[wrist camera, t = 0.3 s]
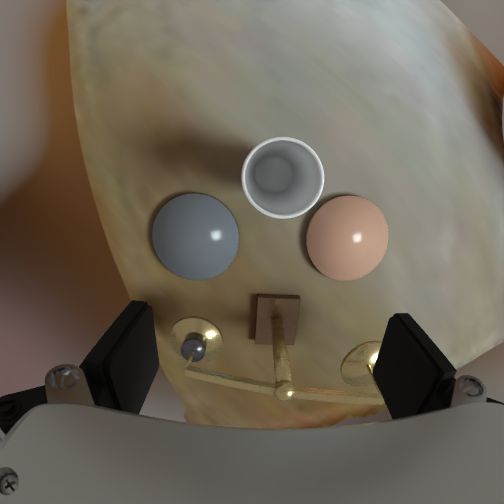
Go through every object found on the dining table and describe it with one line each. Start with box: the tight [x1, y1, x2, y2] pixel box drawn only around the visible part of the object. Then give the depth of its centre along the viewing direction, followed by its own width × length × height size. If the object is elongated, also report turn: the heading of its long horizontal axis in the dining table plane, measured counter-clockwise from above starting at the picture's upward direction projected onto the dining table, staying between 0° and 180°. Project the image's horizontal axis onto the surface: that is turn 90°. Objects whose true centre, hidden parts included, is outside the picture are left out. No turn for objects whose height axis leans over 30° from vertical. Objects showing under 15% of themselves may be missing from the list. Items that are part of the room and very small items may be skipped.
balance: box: [170, 294, 384, 405], centre depth 34 cm, size 8×29×18 cm, turn 87°
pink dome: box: [306, 195, 388, 281], centre depth 38 cm, size 12×12×1 cm
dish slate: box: [152, 193, 239, 280], centre depth 38 cm, size 12×12×1 cm
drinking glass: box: [241, 137, 324, 219], centre depth 29 cm, size 7×7×15 cm
